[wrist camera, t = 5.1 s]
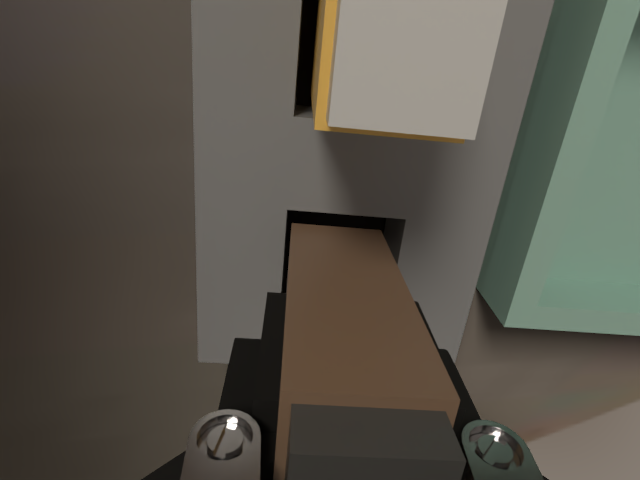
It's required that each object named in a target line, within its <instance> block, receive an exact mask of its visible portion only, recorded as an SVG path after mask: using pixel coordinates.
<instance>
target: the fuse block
mask: <svg viewBox="0 0 640 480" xmlns="http://www.w3.org/2000/svg"><path fill="white" fill-rule="evenodd" d="M554 1H555V0H508V2H507V7H506V11H505V15H504V19H503V24H502V28H501V32H500V36H499V40H498V45H497V49H496V53H495V57H494V62H493V66H492V70H491V74H490V78H489V83H488V87H487V91H486V95H485V100H484V104H483V108H482V112H481V116H480V121H479V125H478V129H477V133H476V137H475V140H469V139H465V141H464V144H461V143H450V142H439V141H429V140H418V139H407V138H396V137H386V136H375V135H364V134H354V133H343V132H332V131H321V130H314V122H313V111H312V106H303V105H296V95H297V81H298V67H299V53H300V39H301V25H302V11H303V0H191V20H192V72H193V124H194V176H195V228H196V280H197V332H198V362H209V363H226V364H229V360H230V356H231V351H232V347H233V342H234V339H235V338H250V339H261V336H262V328H263V321H264V314H265V306H266V299H267V292H275V293H282V291H283V277H284V263H285V249H286V235H287V221H288V210H296V211H309V212H321V213H333V214H346V215H358V216H370V217H383V218H386V221H385V227H384V233H383V236H384V238H385V240H386V242H387V244H388V246H389V249H390V251H391V253H392V255H393V257H394V259H395V261H396V264H397V266H398V268H399V270H400V272H401V274H402V276H403V278H404V281H405V283H406V285H407V287H408V289H409V291H410V293H411V296H412V298H413V300H414V301H417V302H418V303H419V305H420V307H421V310H422V312H423V314H424V316H425V319H426V321H427V323H428V325H429V328H430V330H431V332H432V334H433V336H434V339H435V341H436V343H437V345H438V348H439V349H446V350H447V351H448V352H449V354H450V356H451V358H452V360H453V362H454V364H455V361H456V357H457V354H458V350H459V346H460V343H461V339H462V335H463V332H464V328H465V325H466V321H467V317H468V314H469V310H470V306H471V303H472V299H473V295H474V292H475V288H476V284H477V281H478V277H479V274H480V270H481V266H482V263H483V259H484V255H485V252H486V248H487V244H488V241H489V237H490V234H491V230H492V226H493V223H494V219H495V215H496V212H497V208H498V204H499V201H500V197H501V193H502V190H503V186H504V183H505V179H506V175H507V172H508V168H509V164H510V161H511V157H512V153H513V150H514V146H515V143H516V139H517V135H518V132H519V128H520V124H521V121H522V117H523V113H524V110H525V106H526V102H527V99H528V95H529V92H530V88H531V84H532V81H533V77H534V73H535V70H536V66H537V62H538V59H539V55H540V52H541V48H542V44H543V41H544V37H545V33H546V30H547V26H548V22H549V19H550V15H551V11H552V8H553V4H554Z"/></svg>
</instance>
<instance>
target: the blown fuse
mask: <svg viewBox="0 0 640 480" xmlns="http://www.w3.org/2000/svg"><path fill="white" fill-rule="evenodd" d="M286 293H287V295H286V310H285V324H284V338H283V352H282V367H281V381H280V395H279V408H278V421H277V434H276V448H275V462H274V474H273V480H461V478H462V474H463V471H464V468H465V464H466V459H465V457H464V454H463V452H462V450H461V447H460V445H459V442H458V440H457V437H456V435H455V433H454V430H453V426H454V422H455V418H456V415H457V411H458V407H459V404H460V398H459V396H458V394H457V392H456V389H455V387H454V385H453V383H452V381H451V379H450V377H449V375H448V372H447V370H446V368H445V366H444V364H443V362H442V360H441V357H440V355H439V353H438V351H437V349H436V347H435V345H434V343H433V340H432V338H431V336H430V334H429V332H428V330H427V328H426V325H425V323H424V321H423V319H422V317H421V315H420V313H419V311H418V308H417V306H416V304H415V302H414V300H413V298H412V296H411V293H410V291H409V289H408V287H407V285H406V283H405V281H404V278H403V276H402V274H401V272H400V270H399V268H398V266H397V264H396V261H395V259H394V257H393V255H392V253H391V251H390V249H389V246H388V244H387V242H386V240H385V238H384V236H383V234H382V232H381V230H374V229H361V228H348V227H335V226H323V225H310V224H297V223H292V225H291V238H290V251H289V264H288V277H287V290H286Z"/></svg>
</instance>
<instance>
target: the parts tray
mask: <svg viewBox="0 0 640 480" xmlns="http://www.w3.org/2000/svg"><path fill="white" fill-rule="evenodd" d="M476 288H477V289H478V291H479V292H480V294H481V295H482V296H483V298H484V299H485V301H486V302H487V304H488V305H489V306H490V308H491V309H492V311H493V312H494V313H495V315H496V316H497V318H498V319H499V321H500V322H501V323H502V325H503V326H504V327H513V328H528V329H543V330H558V331H574V332H589V333H604V334H619V335H634V336H640V0H555V1H554V5H553V9H552V12H551V16H550V20H549V23H548V27H547V31H546V34H545V38H544V41H543V45H542V49H541V52H540V56H539V60H538V63H537V67H536V71H535V74H534V78H533V81H532V85H531V89H530V92H529V96H528V100H527V103H526V107H525V111H524V114H523V118H522V121H521V125H520V129H519V132H518V136H517V140H516V143H515V147H514V151H513V154H512V158H511V162H510V165H509V169H508V172H507V176H506V180H505V183H504V187H503V191H502V194H501V198H500V202H499V205H498V209H497V212H496V216H495V220H494V223H493V227H492V231H491V234H490V238H489V242H488V245H487V249H486V252H485V256H484V260H483V263H482V267H481V271H480V274H479V278H478V282H477V285H476Z"/></svg>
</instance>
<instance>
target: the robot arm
mask: <svg viewBox="0 0 640 480" xmlns="http://www.w3.org/2000/svg"><path fill="white" fill-rule="evenodd" d="M286 295H287V293H275V292H267V299H266V306H265V314H264V321H263V328H262V336H261V339H250V338H235V339H234V342H233V347H232V351H231V356H230V360H229V365H228V369H227V374H226V378H225V382H224V387H223V391H222V396H221V400H220V405H219V409H218V410H217V411H215V412H212V413H209V414H207V415H206V416H204V417H203V418H201V419H200V420H198V422H197V423H196V424H195V425H194V426H193V428H192V430H191V432H190V435H189V437H188V442H187V448H186V451H184V452H183V453H181V454H180V455H178V456H177V457H175V458H174V459H172V460H171V461H169V462H168V463H166V464H164V465H163V466H161V467H160V468H158V469H157V470H155V471H154V472H152V473H151V474H149V475H148V476H146V477H145V478H143V479H141V480H273V474H274V462H275V448H276V434H277V421H278V408H279V395H280V381H281V367H282V352H283V338H284V324H285V310H286ZM414 302H415V304H416V306H417V308H418V311H419V313H420V315H421V317H422V319H423V321H424V323H425V325H426V328H427V330H428V332H429V334H430V336H431V338H432V340H433V343H434V345H435V347H436V349H437V351H438V353H439V355H440V357H441V360H442V362H443V364H444V366H445V368H446V370H447V372H448V375H449V377H450V379H451V381H452V383H453V385H454V387H455V389H456V392H457V394H458V396H459V398H460V404H459V407H458V411H457V415H456V418H455V422H454V426H453V430H454V433H455V435H456V437H457V440H458V442H459V445H460V447H461V450H462V452H463V454H464V457H465V459H466V464H465V468H464V471H463V474H462V478H461V480H549V479H547V478H546V477H544V476H542V474H541V472H540V470H539V468H538V466H537V464H536V462H535V460H534V458H533V456H532V454H531V452H530V450H529V448H528V447H527V445H526V443H525V442H524V441H523V440H522V439H521V438H520V437H519V436H518V435H517V434H516V433H515V432H514V431H512V430H511V429H509V428H508V427H506V426H504V425H501V424H499V423H497V422H493V421H489V420H481V419H480V417H479V415H478V412H477V410H476V408H475V406H474V404H473V402H472V400H471V398H470V396H469V393H468V391H467V389H466V387H465V385H464V383H463V381H462V379H461V377H460V375H459V372H458V370H457V368H456V366H455V364H454V362H453V360H452V358H451V356H450V354H449V352H448V351H447V350H446V349H439V348H438V345H437V343H436V341H435V339H434V336H433V334H432V332H431V330H430V328H429V325H428V323H427V321H426V319H425V316H424V314H423V312H422V310H421V307H420V305H419V303H418V302H417V301H414Z"/></svg>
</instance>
